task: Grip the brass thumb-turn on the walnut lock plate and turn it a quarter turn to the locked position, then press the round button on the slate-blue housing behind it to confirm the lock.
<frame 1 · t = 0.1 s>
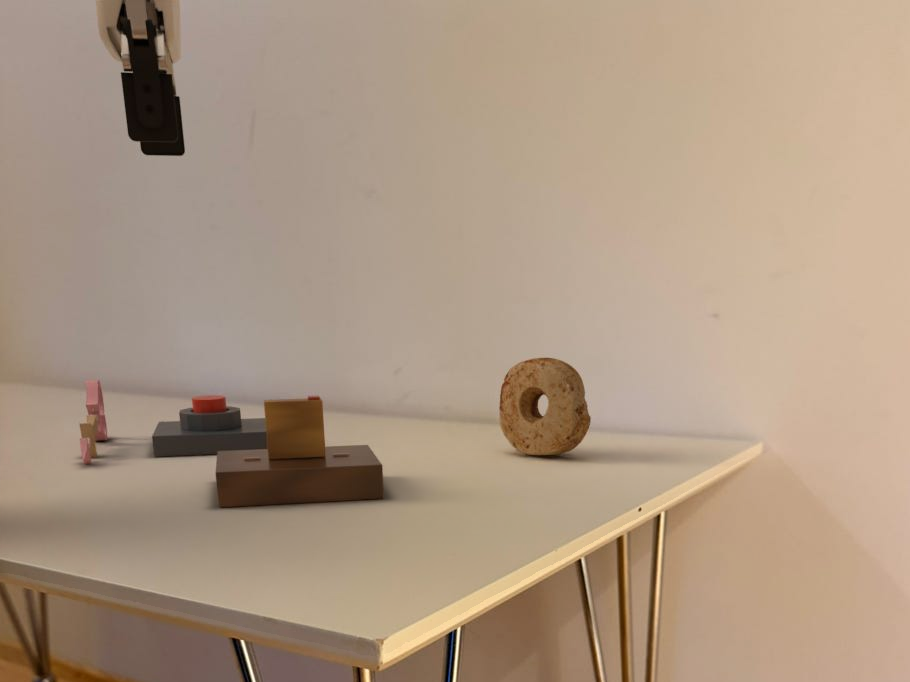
hand: (159, 148, 71), 27 cm above the table, tool pointing down, fingers open, 9 cm apart
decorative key: (94, 454, 107), on the table
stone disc: (540, 457, 104), on the table
confirm box: (213, 446, 110), on the table
thumbturn: (294, 427, 87), point 6 cm above the table, hinge at 0.0°
lock plate: (299, 490, 89), on the table
confirm button: (209, 405, 108), point 4 cm above the table, slide at 0.1 cm
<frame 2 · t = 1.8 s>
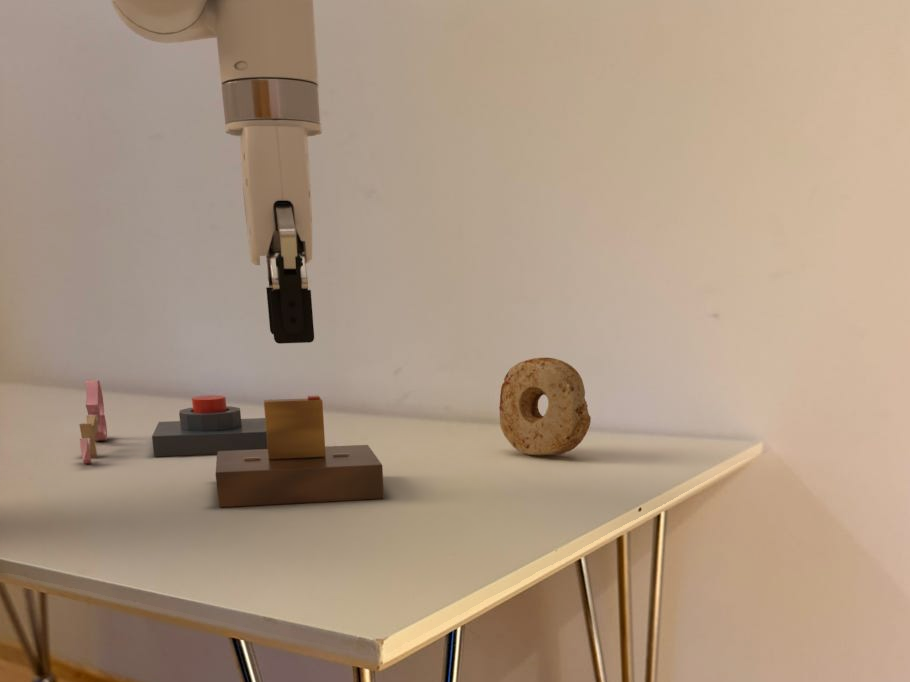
hand: (291, 338, 84), 13 cm above the table, tool pointing down, fingers open, 9 cm apart
nothing on the table moved.
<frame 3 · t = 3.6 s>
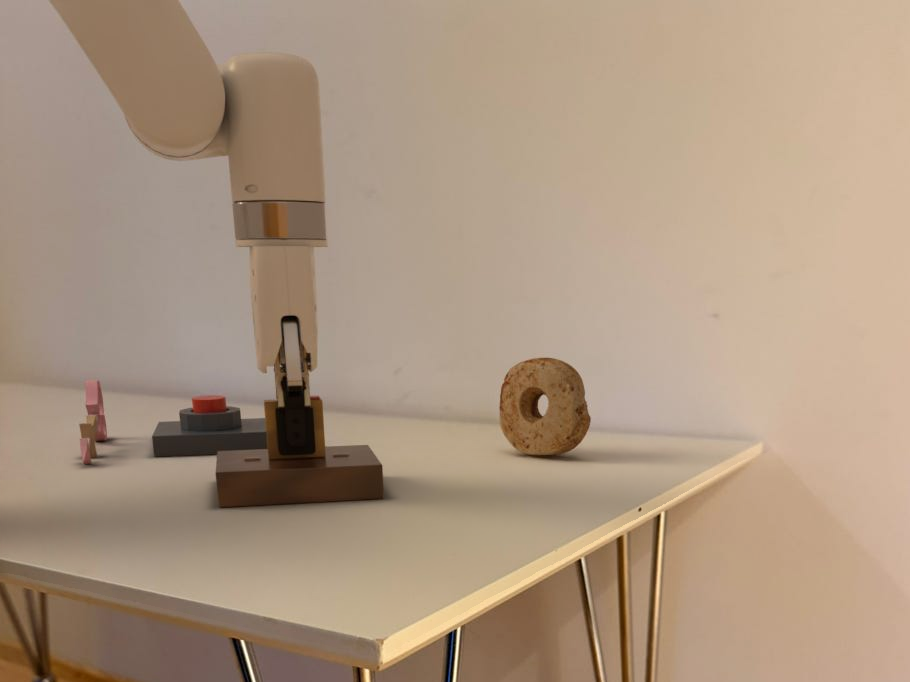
hand: (296, 450, 88), 4 cm above the table, tool pointing down, fingers closed
thumbturn: (294, 427, 87), point 6 cm above the table, hinge at 0.0°, touching gripper
everything else where it was.
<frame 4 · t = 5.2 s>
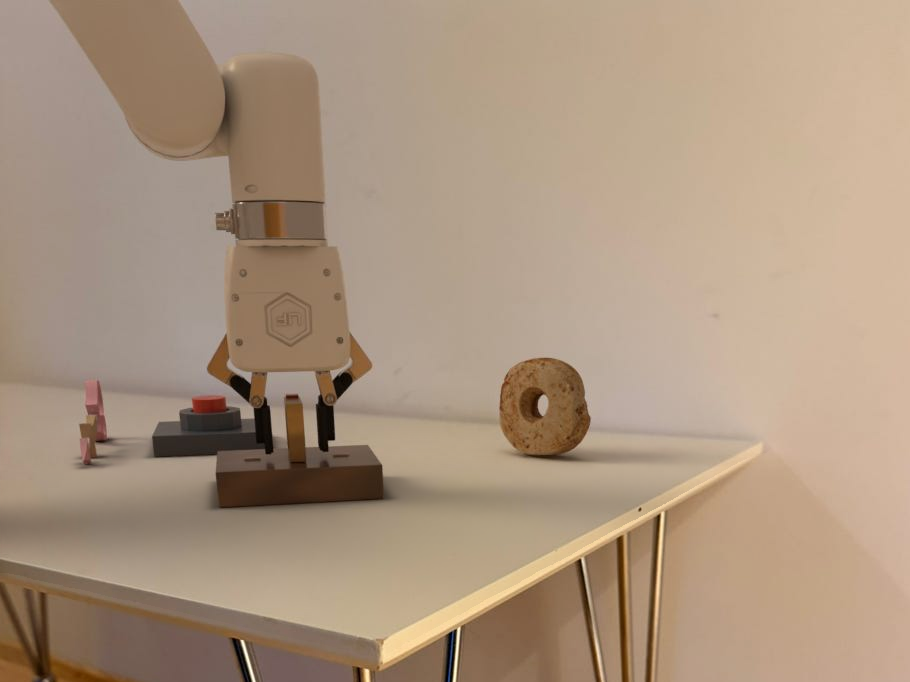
hand: (296, 448, 87), 4 cm above the table, tool pointing down, fingers open, 4 cm apart
thumbturn: (294, 427, 87), point 6 cm above the table, hinge at 89.5°
everything else where it was.
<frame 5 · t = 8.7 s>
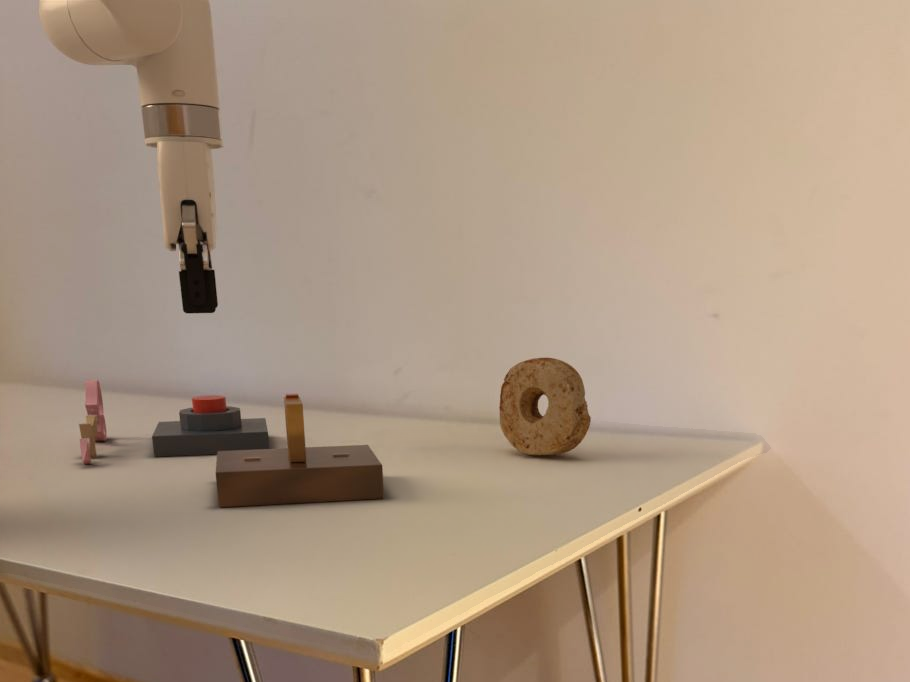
hand: (201, 310, 104), 14 cm above the table, tool pointing down, fingers open, 9 cm apart
nothing on the table moved.
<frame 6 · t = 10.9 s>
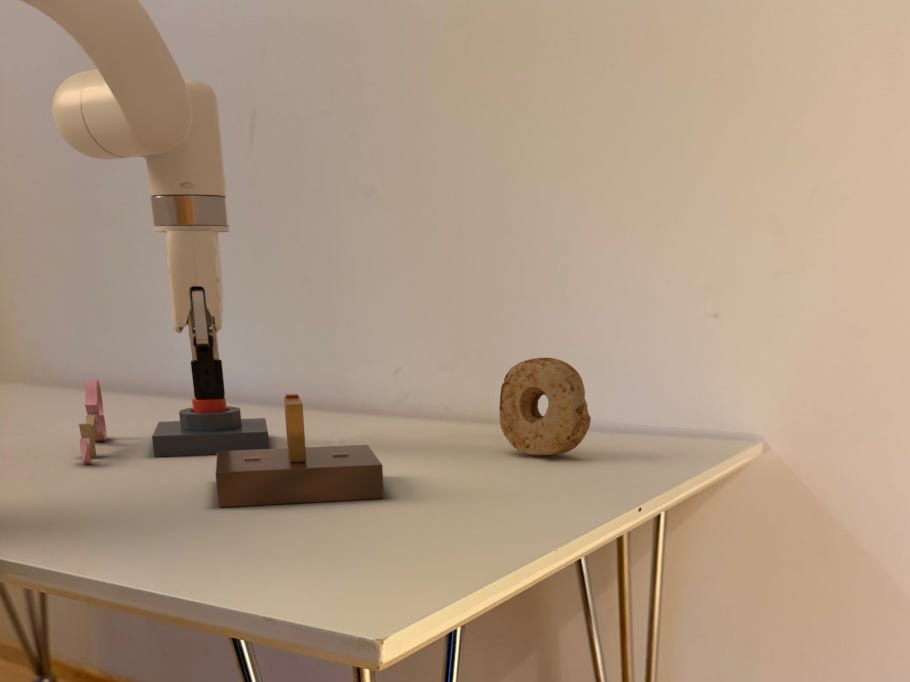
hand: (210, 397, 108), 5 cm above the table, tool pointing down, fingers closed
confirm button: (209, 406, 108), point 4 cm above the table, slide at 0.0 cm, touching gripper
everything else where it was.
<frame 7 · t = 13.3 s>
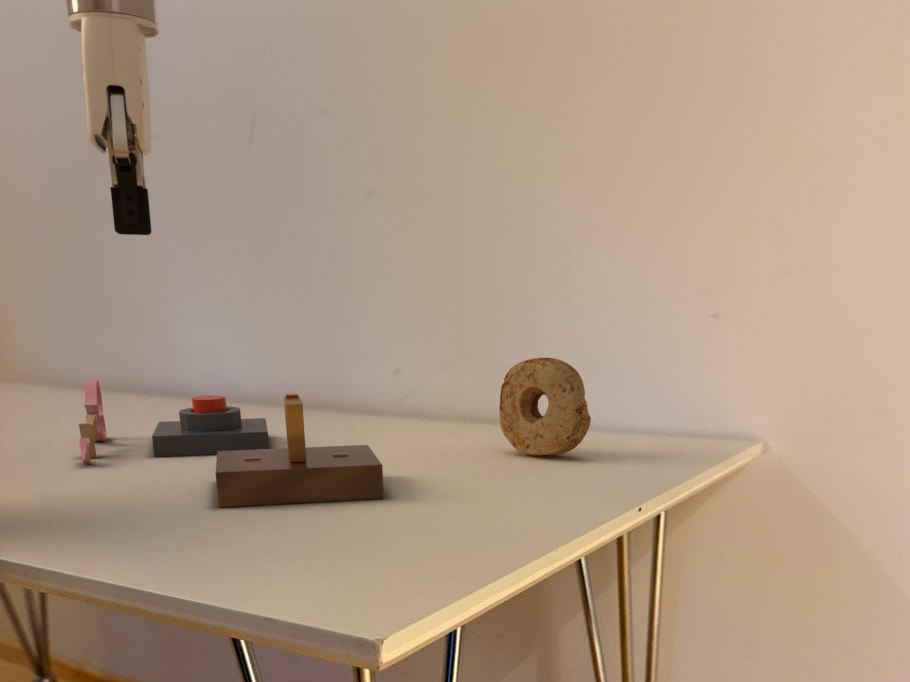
hand: (133, 233, 93), 22 cm above the table, tool pointing down, fingers closed
confirm button: (209, 405, 108), point 4 cm above the table, slide at 0.1 cm
everything else where it was.
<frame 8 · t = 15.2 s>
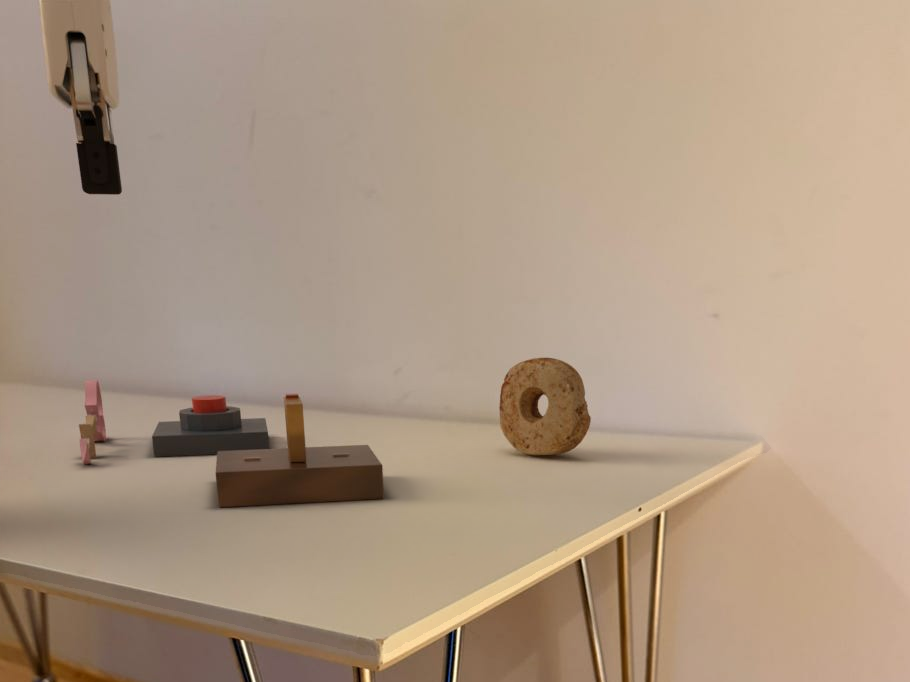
hand: (102, 193, 88), 25 cm above the table, tool pointing down, fingers closed
nothing on the table moved.
at the end: thumbturn at +90° (first picture: +0°); confirm button pushed in 1.1 cm at the most during the clip, back to where it started at the end; confirm button slide at 0.1 cm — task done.
